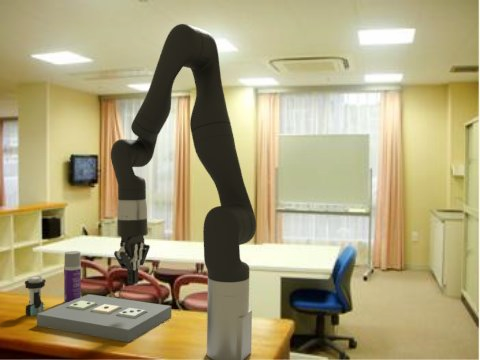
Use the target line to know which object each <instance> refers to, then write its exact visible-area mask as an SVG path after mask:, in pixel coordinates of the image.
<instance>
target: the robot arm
mask: <svg viewBox="0 0 480 360" xmlns="http://www.w3.org/2000/svg"><path fill="white" fill-rule="evenodd" d="M217 45H218V44H217V42H216V40H215V38H214V36H213V35H212V34H211V33H209V31H206V30H203V29H201V28H199V27H196V26H193V25H190V24H187V23H179V24H176V25H175V26H174V27H173V28H171V29H170V31H169V32H168V34H167V36H166V37H165V41H164V44H163V46H162V49H161V51H160V56H159V58H158V61H157V64H156V67H155V70H154V73H153V76H152V79H151V82H150V85H149V88H148V90H147V92H146V95H145V98H144V100H143V101H142V103H141V106H140V108H139V109H138V111H137V113H136V115H135V116H134V119H133V121H132V123H131V127H130V130H131V131H132V133H133V134H134V135H135V136H136V137H137V138H136V139H128V138H127V139H125V138H123V139H118V140H116V141H115V142H114V143H113V144H112V146H111V150H110V161H111V164H112V168H113V170H114V171H113V172H114V175H115V179H116V182H117V208H116V209H117V211H116V212H117V213H116V217H117V218H116V220H117V221H116V223H117V224H116V225H117V227H116V228H117V231H116V232H117V236H118V237H120V242H119V243H120V244H119V247H120V248H119V249H118V250H115V251H114V252H113V255H114V257H115V259H116V261H117V263H118V264H119V266H120V267H121V269H124V270H126V271H127V273H126V274H127V275H126V276H127V279H126V280H127V285H130V286H132V285H133V286H134V285H137V284H138V283H139V270H140V268H141V266H144V264H145V261H146V258H147V255H148V254H149V251H150V248H151V246H150V245H149V244H146V243H145V238H144V237H145V236H146V235H147V234H148V206H147V183H146V180H145V178H144V177H141V176H140V175H139V176H138V175H136V174H135V171H134V168H143V167H145V166H147V165H148V164H149V163H150V162H151V160H152V158H153V156H154V154H155V153H154V152H155V148H156V145H157V140H158V136H159V134H160V132H162V129H163V127H164V126H165V123H166V121H167V120H168V117H169V116H170V113H171V108H172V95H173V94H172V91H173V87H174V86H173V85H174V82H175V80H176V78H177V76H178V75H179V73H180V72H181V70H183V67H185V68H189V69H190V70H191V72H192V76H193V81H194V85H195V100H194V105H193V107H192V111H191V115H190V122H189V124H190V125H189V126H190V132H191V138H192V142H193V147H194V150H195V153H196V156H197V158H198V160H199V161H200V163H201V164H202V166H203V167H204V169H205V171H206V172H207V173H208V175H209V177H210V178H211V179H212V181H213V184H214V186H215V188H216V190H217V194H218V199H219V203H220V205H219V206H218V205H217V206H215V207H212V208H211V209H210V210H209V211H208V212H207V214H206V215H205V218H204V222H203V227H202V230H203V231H202V232H203V235H202V236H203V239H202V240H203V258H204V265H205V267H206V269H207V303H206V304H207V305H206V307H207V308H206V309H207V310H206V354H207V357H208V358H209V359H211V360H245V359H246V358H247V357H248V356H249V355H250V354H251V353H252V336H253V335H252V332H253V329H252V327H253V321H252V320H253V310H251V309H250V308H249V307H250V266H249V265H248V263H247V262H244V261H242V259H241V254H240V253H241V251H240V245H244V244H247V243H249V242H251V240H252V239H253V238H254V237H255V234H256V231H257V220H256V215H255V212H254V209H253V208H254V207H253V205H252V203H251V202H252V201H251V200H250V197H249V194H248V191H247V188H246V184H245V180H244V178H243V173H242V169H241V163H240V160H239V156H238V152H237V148H236V142H235V138H234V133H233V128H232V123H231V119H230V117H229V111H228V107H227V102H226V98H225V93H224V87H223V83H222V82H223V81H222V75H221V67H220V58H219V52H218V51H219V50H218V47H217Z"/></svg>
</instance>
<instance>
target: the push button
mask: <svg viewBox="0 0 480 360" xmlns="http://www.w3.org/2000/svg"><path fill="white" fill-rule="evenodd" d="M45 283H46V279H43V276H41V275H35V276H30V277H27V280H25V281H24V285H25V289H28V290H29V299H28V305H25V316H29V317H35V316H37V314H38V313H41V312H44V309H45V308H46V306H44V305H46V303H44V302H43V301H42V298H41V297H42V296H41V295H42V292H41V289H43V288H44V287H45V285H46V284H45Z"/></svg>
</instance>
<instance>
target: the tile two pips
mask: <svg viewBox="0 0 480 360" xmlns="http://www.w3.org/2000/svg"><path fill="white" fill-rule="evenodd" d="M94 306H96V303H94V302H88V301H78V302H76V303H73V304H71V305H68V308H69V309H76V310H82V311H84V310H87V309H89V308H91V307H94Z"/></svg>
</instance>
